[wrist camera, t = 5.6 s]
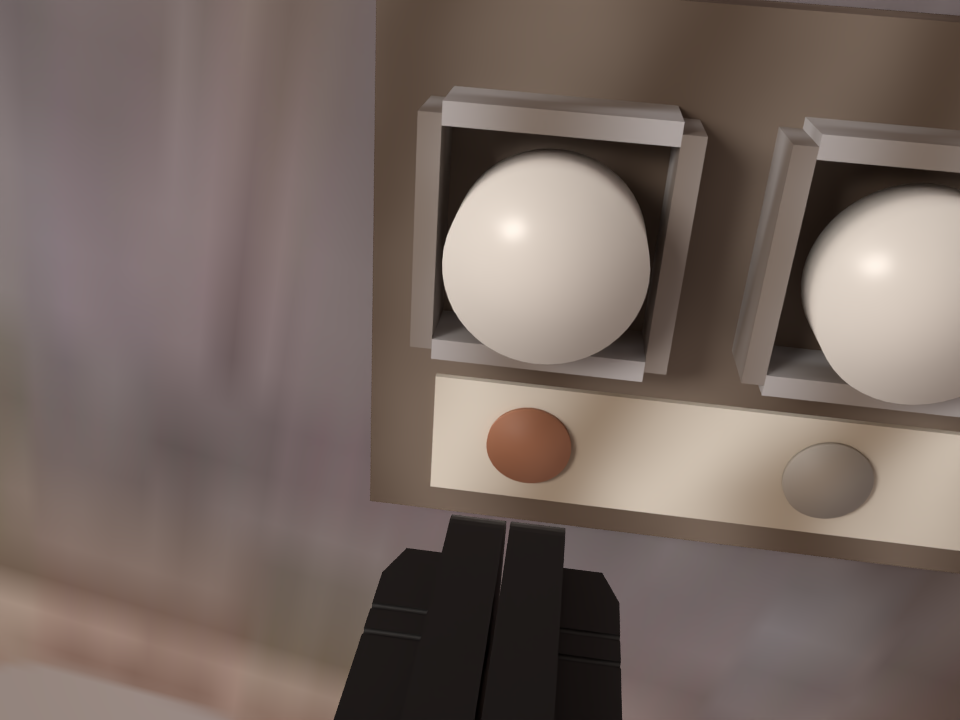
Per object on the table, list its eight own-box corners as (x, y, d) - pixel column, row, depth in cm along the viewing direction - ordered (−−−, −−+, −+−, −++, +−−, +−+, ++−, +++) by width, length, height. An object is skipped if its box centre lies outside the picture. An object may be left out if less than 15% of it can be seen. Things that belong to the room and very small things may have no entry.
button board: (1509, 59, 23) (1679, 88, 19) (1228, 569, 30) (1313, 659, 26) (392, -29, 25) (357, -18, 21) (383, 467, 32) (355, 538, 28)
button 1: (660, 158, 22) (665, 179, 21) (631, 340, 25) (634, 375, 23) (459, 139, 23) (447, 159, 21) (449, 321, 25) (438, 353, 23)
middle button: (1039, 193, 22) (1079, 218, 20) (975, 378, 24) (1005, 415, 22) (825, 173, 22) (845, 196, 20) (782, 357, 24) (796, 392, 23)
